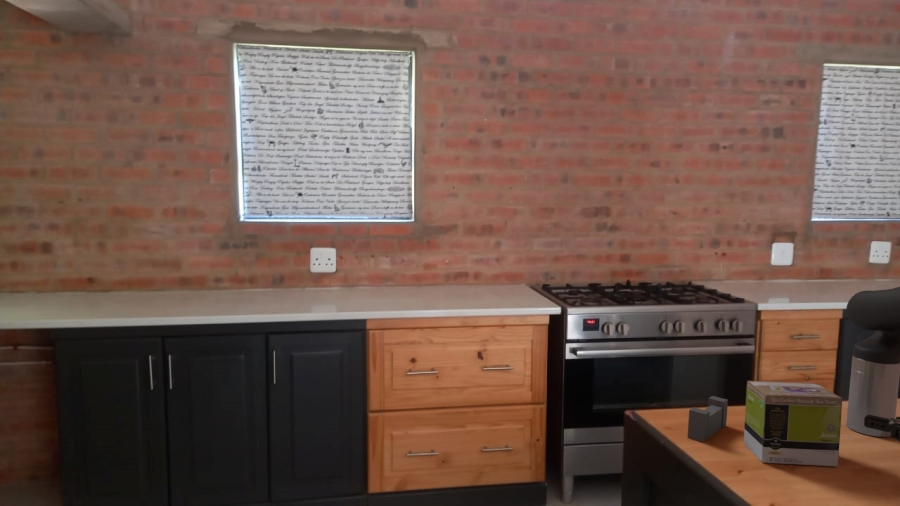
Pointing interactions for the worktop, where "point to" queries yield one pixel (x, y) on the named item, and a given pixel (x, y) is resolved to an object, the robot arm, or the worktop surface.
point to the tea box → (792, 423)
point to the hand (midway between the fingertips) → (865, 420)
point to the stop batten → (707, 419)
